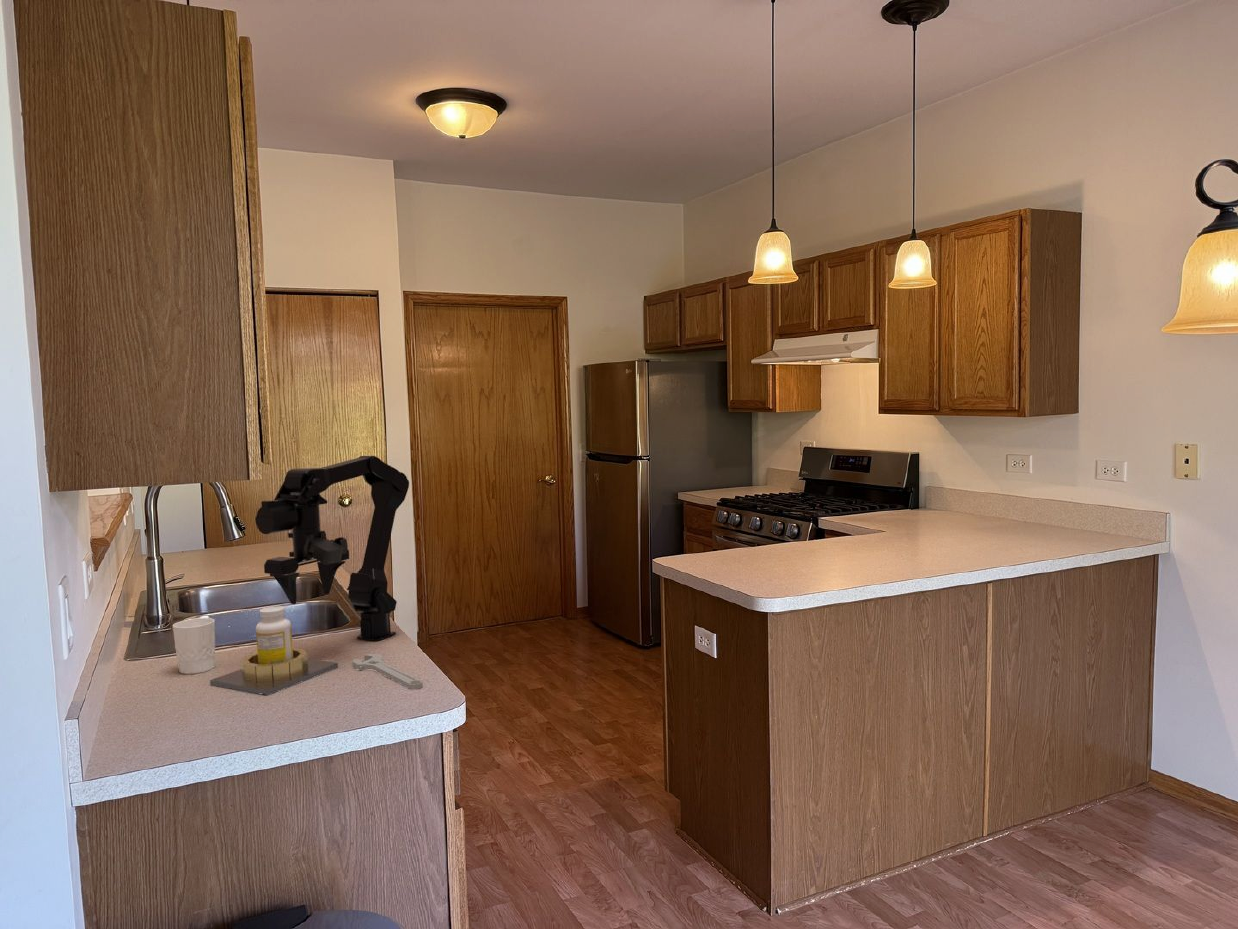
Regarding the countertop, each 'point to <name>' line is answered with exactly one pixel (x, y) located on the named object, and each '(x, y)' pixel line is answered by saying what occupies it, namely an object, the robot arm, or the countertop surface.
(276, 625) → the supplement bottle
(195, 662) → the white cup
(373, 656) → the adjustable wrench
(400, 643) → the countertop surface
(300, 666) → the ring collar
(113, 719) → the countertop surface
